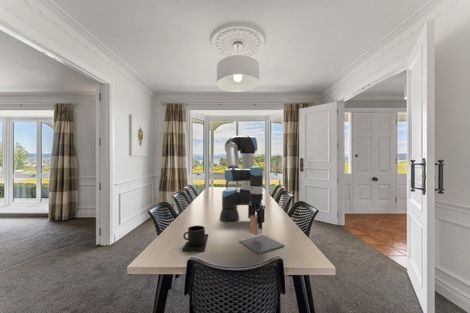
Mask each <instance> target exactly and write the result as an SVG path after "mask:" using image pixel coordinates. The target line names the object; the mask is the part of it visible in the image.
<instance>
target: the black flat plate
mask: <svg viewBox="0 0 470 313" xmlns="http://www.w3.org/2000/svg"><path fill="white" fill-rule="evenodd" d="M208 239H209V234H207V233H205V244H204V245H202V246H200V247H191V246H189V245H188V241H186V242H185V243H184V246H183V248H182V249H181V252H183V253H199V252H200V253H201V252H205V250H206V248H207V247H206V246H207V242H208Z"/></svg>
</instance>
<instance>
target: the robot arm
mask: <svg viewBox="0 0 470 313" xmlns="http://www.w3.org/2000/svg"><path fill="white" fill-rule="evenodd" d="M257 151H258V141H257V138H256V136H253V135H234V136H231V137H230V138H229V139H227V140H226V142H225V144H224V152H225V153H226V154H225V155H226V168H225V169H224V172H223V175H224V181H226V182H241V186H240V187H239V190H238V189H237V188H236V187H235V188H232V187H231V188H225V189H224V190H222V193H221V201H222V202H221V211H220V214H219V220H220V221H222V222H227V223H228V222H229V223H231V222H236V221H239V220H240V214H239V212H238V206H248V207H247V211H248V212H247V214H248V216H247V217H248V219H250V216H251V215H256V214H257V219H258V222H257V235H256V236H260V235H262V234H261V229H262V230H263V224H265V222H266V221H265V220H266V219H265V216H266V214H265V210H266V206H265V205H263V203H262V201H263V199H264V198H263V197H264V194H263V191H264V187H263V185H264V184H263V181H264V179H263V178H264V176H263V175H264V170H263V167H262V166H258V165H257V166H254V155H255V154H256V152H257ZM238 152H239V154H240V155H241V168H239V167H240V166H239V161H238V159H239V158H238Z"/></svg>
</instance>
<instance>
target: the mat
mask: <svg viewBox="0 0 470 313" xmlns="http://www.w3.org/2000/svg"><path fill="white" fill-rule="evenodd" d="M239 243H240V244H242V246H244V247H246V248H247V249H250V250H251V251H252V252H255V254H258V255H261V254H264V253H265V254H266V253H267V252H271V251H274V250H277V249H282V248H284V247H285V244H283V243H281V242H279V241H277V240H276V239H274V238H270V237H268V236H266V235H264V234H260V235H256V236H253V237H250V238H245V239H242V240H239Z"/></svg>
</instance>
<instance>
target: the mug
mask: <svg viewBox="0 0 470 313" xmlns="http://www.w3.org/2000/svg"><path fill="white" fill-rule="evenodd" d="M205 234H206V227H205V226H202V225H192V226H189V227H188V228H187V231H185V232H184V233H183V239H184V240H185V241H187V242H188V245H189V246H191V247H200V246H202V245H204V244H205ZM186 235H187V236H186Z"/></svg>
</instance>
